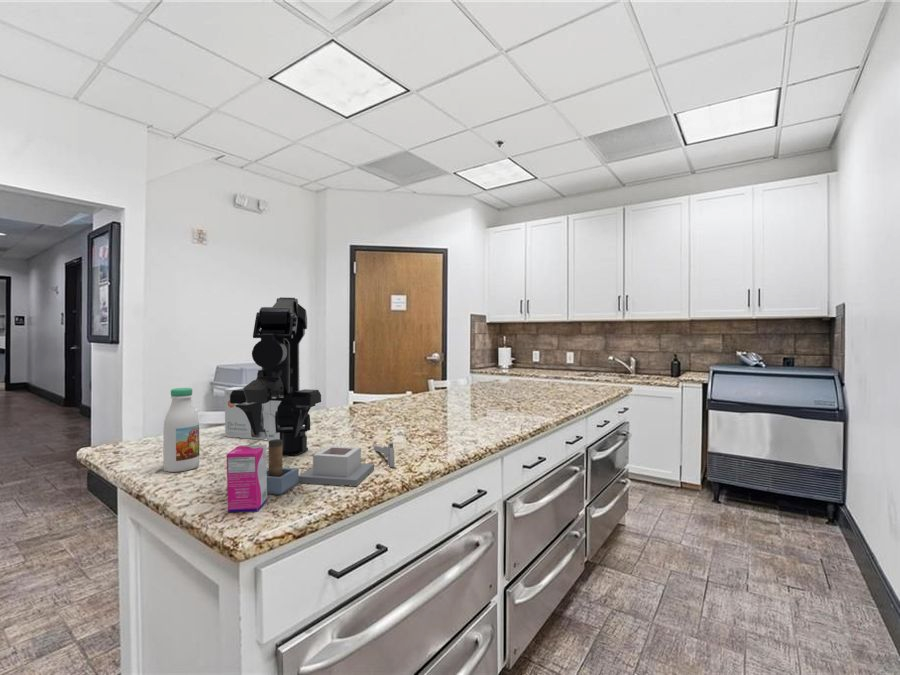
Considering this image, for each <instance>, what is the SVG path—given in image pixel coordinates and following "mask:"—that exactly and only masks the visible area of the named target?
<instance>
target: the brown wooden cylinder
mask: <svg viewBox="0 0 900 675" xmlns="http://www.w3.org/2000/svg"><path fill="white" fill-rule="evenodd" d="M268 468H269V476H274V477H281V476H282V468H283V455H282V440H281V439H274V440H268Z"/></svg>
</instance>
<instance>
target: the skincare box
mask: <svg viewBox="0 0 900 675" xmlns="http://www.w3.org/2000/svg"><path fill="white" fill-rule="evenodd" d="M244 387H245V386H244ZM244 387H243V386H237V387H236V386H232V387H229V388H225V389H224V428H225V430H224V434H225V436H227V437H226V438H235V437H240V438H239V439H247V438H254V439H253V440H259V439H267V440H266V441H270V440H274V439H280V433H276V427H275V413H276V411H277V408H278V406H279V404H280V402H281V401H269V402H267V403H264V404H262V410H261V422H260V430H259V434H258V435H254V433H253V431H252V428H251V425H250V423H249V420H248V418H247V416H246V414H245V412H244V411H243V410H241V409H240V408H238V407H236V406H235V405H237V404H232V403H230V394H231V392H232V391H233V390H237V389H242V388H244Z"/></svg>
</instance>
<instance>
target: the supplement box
mask: <svg viewBox="0 0 900 675" xmlns="http://www.w3.org/2000/svg"><path fill="white" fill-rule="evenodd" d="M267 468H268V467H267V445H266V444H260V445H259V444H258V445H257V444H256V445H237V446H236V447H235V448H233V449H232V450H231V451H229V452H227V453H226V483H227V484H226V485H227V486H226V487H227V494H226V495H227V512H228V513H245V512H246V513H247V512H249V513H251V512H252V511H253V513H254V512H255V511H256V512H257V511H258V512H259V511H260V510H259V509H261V508H262V507H263V506H264V505H265V504H266V502H268V494H267ZM256 512H255V513H256Z"/></svg>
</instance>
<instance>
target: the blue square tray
mask: <svg viewBox="0 0 900 675" xmlns="http://www.w3.org/2000/svg"><path fill="white" fill-rule="evenodd" d="M299 469H300V468H296V467H282V476H281V477H274V476H269V467H267V495H271V494H275V495H274V496H283V495H285V494H286V493H288V492H289V491H291V490H292V489H294V488H295V487H296V486H298V485H299V484H300V483H299V475H300V473H299V472H300V470H299ZM297 484H298V485H297ZM294 486H295V487H294ZM291 488H292V489H291ZM288 490H289V491H288ZM284 493H285V494H284Z"/></svg>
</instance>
